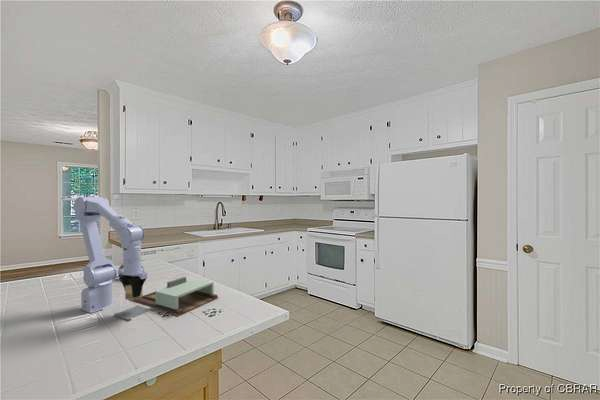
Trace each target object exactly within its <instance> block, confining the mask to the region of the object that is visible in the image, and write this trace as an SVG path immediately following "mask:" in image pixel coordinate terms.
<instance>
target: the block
mask: <svg viewBox="0 0 600 400" xmlns="http://www.w3.org/2000/svg"><path fill="white" fill-rule="evenodd" d="M124 294H125V296H124V298H125V299H126V300H128V301H129V300H131V301H130V302H133V300H136V299H139V298H142V297H143V296H144V295H143V289H142V290H141V294H140V296H138V297H133V292H132V286H131V284H129V285H125V289H124Z"/></svg>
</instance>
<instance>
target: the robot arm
mask: <svg viewBox="0 0 600 400" xmlns="http://www.w3.org/2000/svg"><path fill="white" fill-rule="evenodd" d="M72 206H73V211H74V214H75V215H74V216H75V218H76V220H78V221H79V225H80V229H81V233H82V237H83V241H84V245H85V248H86V253H87V257H88V260H89V262H88V263H87V264H86V265H85V266H84V268H82V271H83V273H82V274H83V278H82V279H83V283H84V284H85V285H86V286H87V287H86V288H83V289H82V290H81V294H80V295H81V299H80V300H81V303H80V304H81V308H80V311H81V310H82V311H84V312H87V313H89V314H93V313H96V312H99V311H102V310H103V309H105V308H106V309H107V308H108V307H111V306H115V305H118V302H115V301H113V283H114V282H115V280H116V278H117V277H119V276H118V275H119V274H123V276H122V277H119V278H118V280H119V281H120V282H121V285H122V286H123V288H124V289H123V290H125V285H129V284H131V286H132V292H133V297H138V296H140V294H141V290H142V291H143V286H144V283H146V280H147V278H148V272H146V271H145V268H144V267H143V268H141V266H142V241H143V240H144V238H145V230H144V228H143V227H142V225H136V224H133V223H132V222H131V221H130V220H129V219H128V218H127V217H126V216H125V215H123V214H118V213H117V212H116V211H115V210H114V209H113V208H112V207H111V206H110V201H109V200H108V199H107V198H106V197H105V196H102V195H101V196H77V197H76V198H75V200H74V203H73V205H72ZM102 217H103V218H105V219H106V220H107V221H108V223H109V224H108V225H109V227H110V228H111V229H112V230H114V231H115V232H116V233H117V234H118V239H119V242H120V247H121V248H122V250H123V251H122V254H123V255H122V257H123V258H122V261H123V263H122V265H123V267H124V268H122V269H119V268H118V269H117V268H116V266H115V264H114V262H113V261H112V260H111V259H109V258H107V257H106V256H105V251H104V248H103V243H102V240H101V235H100V232H99V227H98V224H97V220H98V219H101V218H102ZM118 270H119V274H118Z"/></svg>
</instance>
